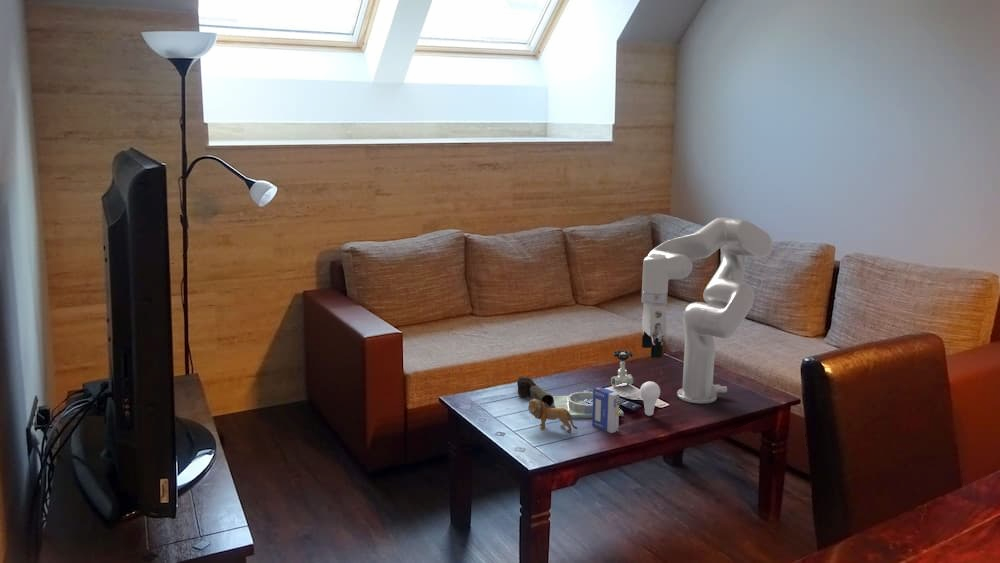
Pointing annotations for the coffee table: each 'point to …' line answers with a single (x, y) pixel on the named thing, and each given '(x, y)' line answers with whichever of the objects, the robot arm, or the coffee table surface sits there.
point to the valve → (622, 369)
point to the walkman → (605, 409)
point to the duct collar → (577, 405)
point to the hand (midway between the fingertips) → (651, 352)
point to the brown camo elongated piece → (533, 391)
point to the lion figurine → (549, 414)
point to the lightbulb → (649, 396)
